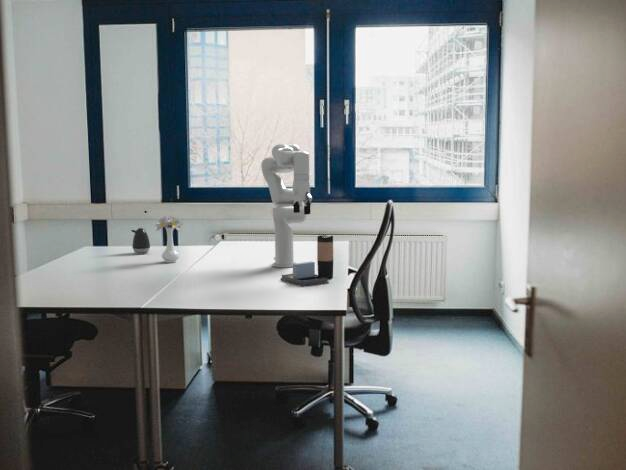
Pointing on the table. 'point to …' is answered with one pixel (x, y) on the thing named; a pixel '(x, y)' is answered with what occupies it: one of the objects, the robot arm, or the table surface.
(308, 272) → the panel
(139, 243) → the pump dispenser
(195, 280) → the table surface
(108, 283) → the table surface
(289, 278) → the rack
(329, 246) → the travel mug
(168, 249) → the flower vase
